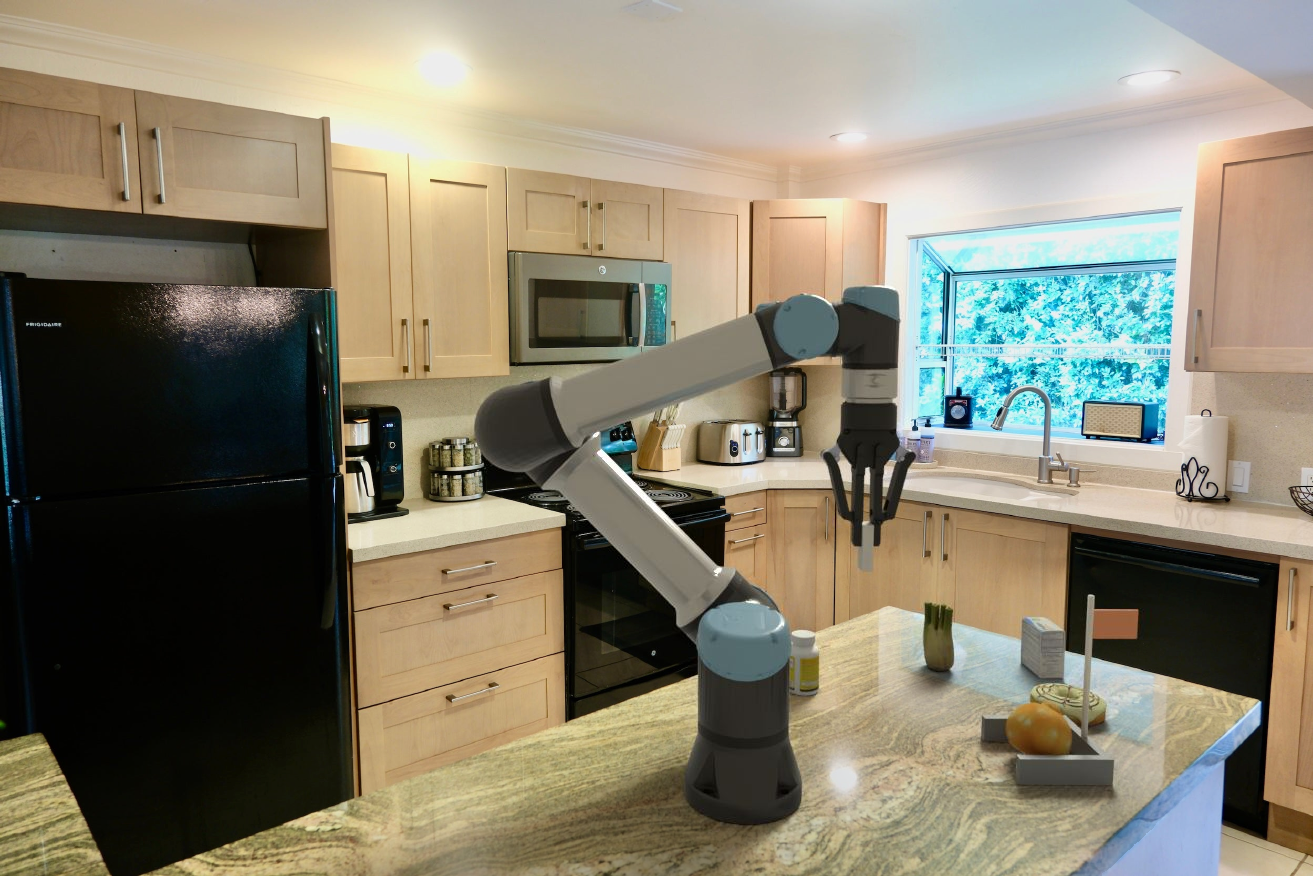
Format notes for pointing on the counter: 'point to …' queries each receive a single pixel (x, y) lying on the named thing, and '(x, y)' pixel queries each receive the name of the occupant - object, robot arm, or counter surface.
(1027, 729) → the fruit
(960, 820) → the counter surface
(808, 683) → the supplement bottle
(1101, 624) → the flagpole corner frame
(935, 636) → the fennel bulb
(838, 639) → the counter surface
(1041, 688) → the decorated donut
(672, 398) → the robot arm
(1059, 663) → the medicine box
